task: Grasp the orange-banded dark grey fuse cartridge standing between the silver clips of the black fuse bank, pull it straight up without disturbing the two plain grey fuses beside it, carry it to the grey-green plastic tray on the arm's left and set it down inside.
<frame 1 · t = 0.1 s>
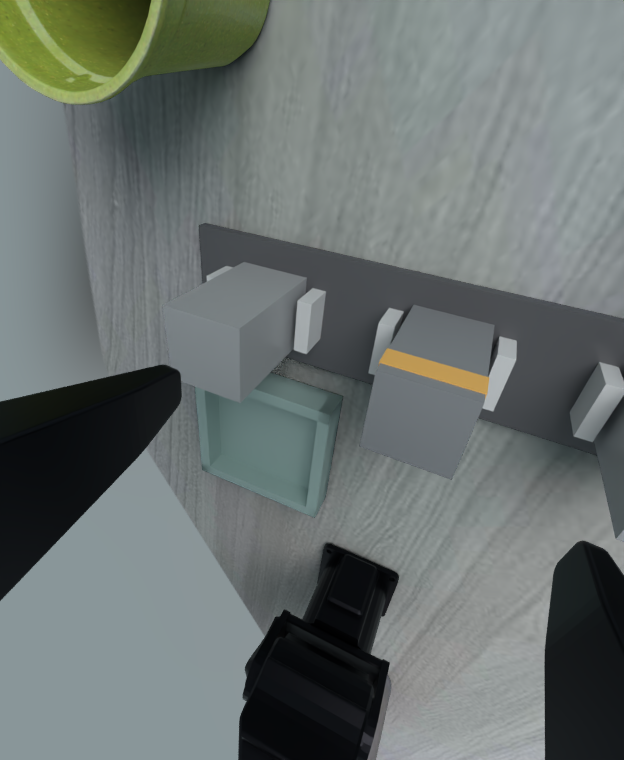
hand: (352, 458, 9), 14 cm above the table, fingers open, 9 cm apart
tray: (271, 428, 31), on the table
fuse: (442, 349, 22), point 1 cm above the table, touching fuse bank
fuse bank: (443, 344, 22), on the table
pillar candle: (350, 665, 45), on the table
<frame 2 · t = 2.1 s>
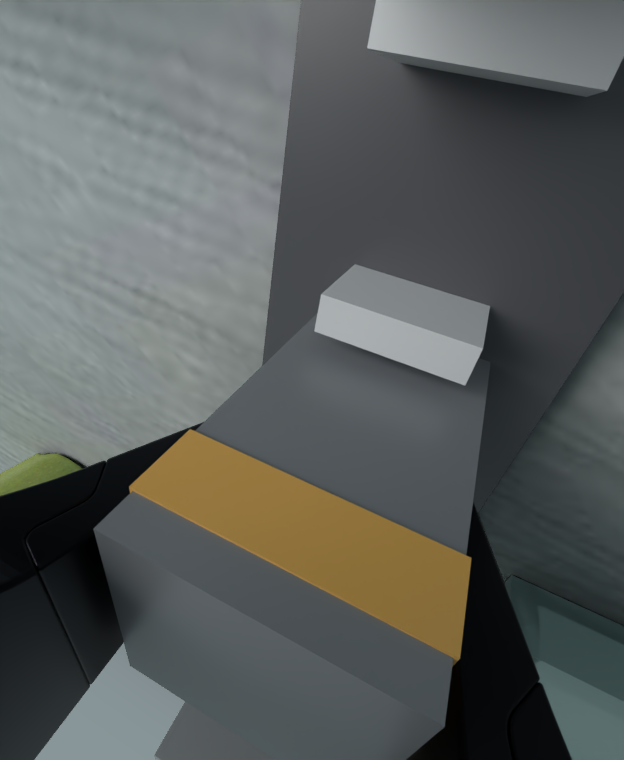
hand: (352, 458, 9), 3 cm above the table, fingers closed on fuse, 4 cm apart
plant pot: (83, 490, 23), on the table
tray: (592, 712, 15), on the table
fuse: (381, 398, 11), point 1 cm above the table, touching fuse bank, gripper
fuse bank: (387, 386, 11), on the table
when the fingers open (4 cm above the table, at t = 6.3 s): fuse drops 1 cm, resting on tray.
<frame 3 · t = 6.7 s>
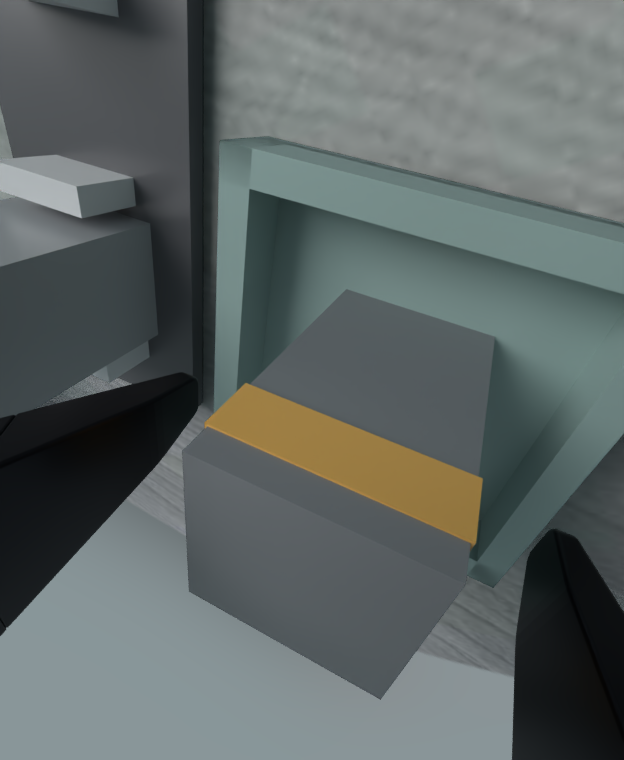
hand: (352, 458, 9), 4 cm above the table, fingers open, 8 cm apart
tray: (398, 362, 12), on the table
fuse: (396, 373, 12), point 1 cm above the table, touching tray
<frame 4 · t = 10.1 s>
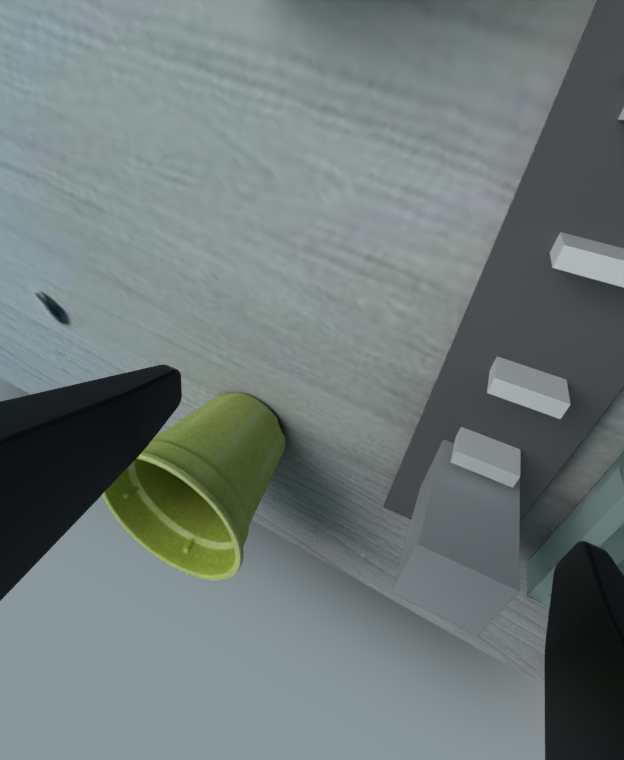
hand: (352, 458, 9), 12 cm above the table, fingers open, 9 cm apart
plant pot: (249, 426, 29), on the table
fuse bank: (557, 314, 17), on the table
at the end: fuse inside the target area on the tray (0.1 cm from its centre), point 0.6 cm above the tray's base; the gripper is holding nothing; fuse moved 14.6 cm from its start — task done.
